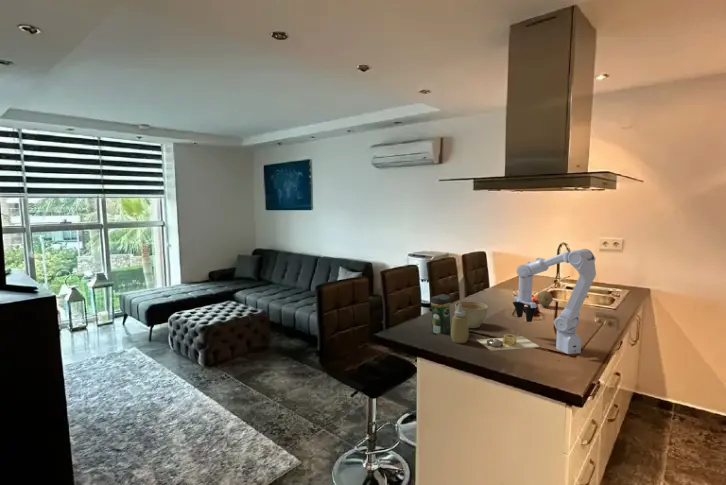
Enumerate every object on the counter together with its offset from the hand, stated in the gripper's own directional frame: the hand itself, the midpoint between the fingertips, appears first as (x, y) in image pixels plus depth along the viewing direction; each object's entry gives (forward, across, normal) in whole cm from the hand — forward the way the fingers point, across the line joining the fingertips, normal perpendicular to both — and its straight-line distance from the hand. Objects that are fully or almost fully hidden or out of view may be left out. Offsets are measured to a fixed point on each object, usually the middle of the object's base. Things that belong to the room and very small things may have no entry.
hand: (524, 319), depth 186 cm
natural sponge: (+10, -50, +44) cm, 67 cm away
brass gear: (+8, +7, -11) cm, 15 cm away
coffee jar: (+10, -17, -34) cm, 39 cm away
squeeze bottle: (+10, -1, -31) cm, 32 cm away
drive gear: (+8, +7, -18) cm, 21 cm away
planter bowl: (+10, -24, -15) cm, 30 cm away
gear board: (+9, +6, -12) cm, 16 cm away
